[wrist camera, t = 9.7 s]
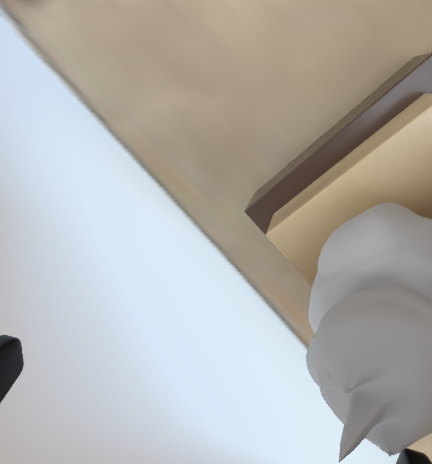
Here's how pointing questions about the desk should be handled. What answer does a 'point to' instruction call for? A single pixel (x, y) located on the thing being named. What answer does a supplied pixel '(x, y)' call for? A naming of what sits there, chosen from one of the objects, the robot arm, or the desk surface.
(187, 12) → the desk surface
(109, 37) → the desk surface
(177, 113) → the desk surface
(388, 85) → the memo paper holder
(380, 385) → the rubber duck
